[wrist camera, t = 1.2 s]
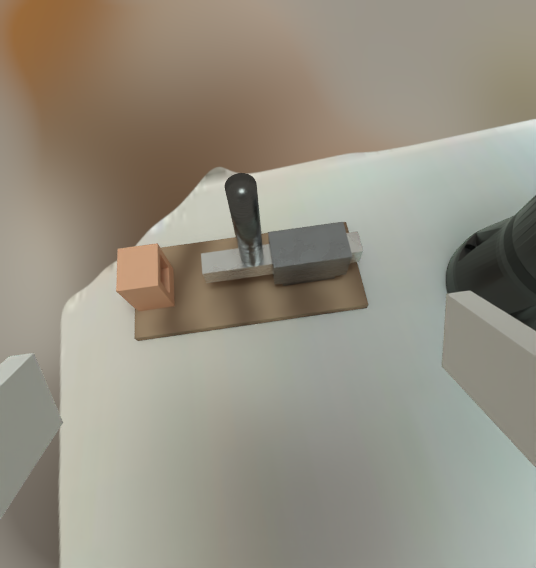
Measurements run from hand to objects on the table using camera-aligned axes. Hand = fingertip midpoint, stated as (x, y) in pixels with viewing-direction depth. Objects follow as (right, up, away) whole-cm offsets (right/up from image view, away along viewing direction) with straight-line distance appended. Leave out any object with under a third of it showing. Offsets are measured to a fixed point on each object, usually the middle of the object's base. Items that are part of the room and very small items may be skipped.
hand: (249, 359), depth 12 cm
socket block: (-12, +2, +30) cm, 32 cm away
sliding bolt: (+2, +5, +28) cm, 28 cm away
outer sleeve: (+5, +4, +30) cm, 31 cm away
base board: (-1, +3, +31) cm, 31 cm away
